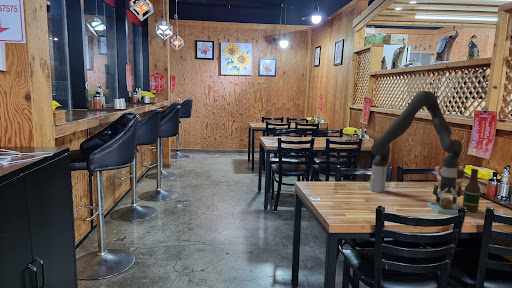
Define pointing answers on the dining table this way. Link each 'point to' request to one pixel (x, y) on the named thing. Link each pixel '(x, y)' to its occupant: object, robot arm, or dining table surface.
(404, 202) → the dining table surface
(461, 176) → the bucket of meat
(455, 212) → the teal tray
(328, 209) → the dining table surface
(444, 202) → the walnut block
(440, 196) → the sage block
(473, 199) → the beer bottle
